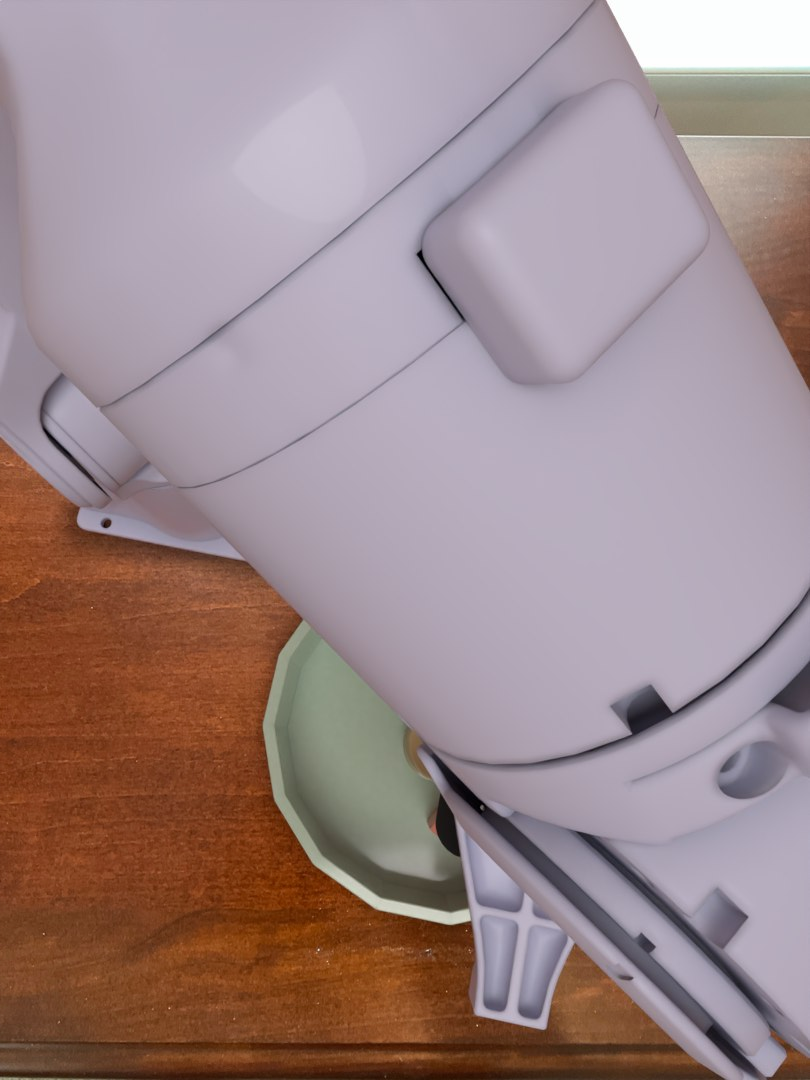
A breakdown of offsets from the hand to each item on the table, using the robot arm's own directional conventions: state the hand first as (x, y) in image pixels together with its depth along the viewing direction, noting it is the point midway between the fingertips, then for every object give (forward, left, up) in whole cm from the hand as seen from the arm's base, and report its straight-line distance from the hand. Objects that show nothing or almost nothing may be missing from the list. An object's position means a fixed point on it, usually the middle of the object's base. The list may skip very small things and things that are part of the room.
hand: (510, 752), depth 33 cm
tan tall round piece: (-3, 0, -4) cm, 5 cm away
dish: (-3, +1, -6) cm, 7 cm away
